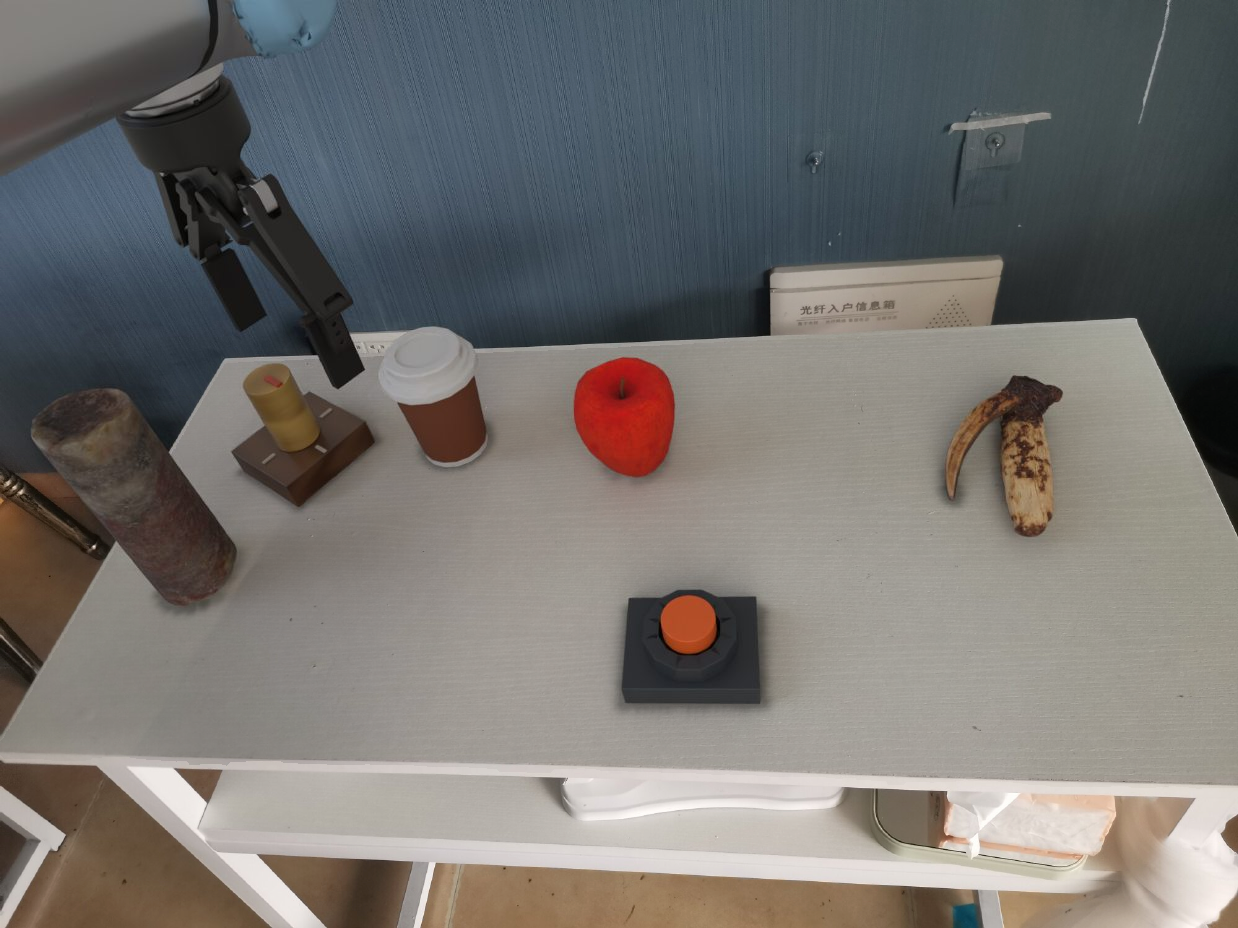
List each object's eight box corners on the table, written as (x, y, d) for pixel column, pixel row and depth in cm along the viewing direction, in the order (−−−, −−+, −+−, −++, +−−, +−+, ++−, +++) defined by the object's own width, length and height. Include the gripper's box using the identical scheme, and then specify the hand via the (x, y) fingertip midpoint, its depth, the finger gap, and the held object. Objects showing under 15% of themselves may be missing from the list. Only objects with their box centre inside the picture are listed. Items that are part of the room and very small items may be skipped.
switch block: (625, 703, 66) (618, 676, 63) (631, 612, 72) (625, 584, 69) (760, 704, 65) (759, 676, 62) (756, 611, 70) (756, 582, 67)
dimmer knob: (266, 441, 87) (231, 382, 81) (301, 414, 89) (269, 355, 83) (294, 458, 85) (260, 398, 79) (329, 429, 87) (298, 369, 81)
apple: (580, 498, 81) (559, 412, 73) (594, 430, 86) (577, 344, 79) (677, 500, 79) (666, 413, 71) (685, 430, 85) (676, 343, 77)
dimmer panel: (298, 507, 84) (285, 485, 82) (243, 471, 89) (229, 450, 86) (375, 442, 89) (365, 419, 87) (319, 411, 94) (308, 389, 91)
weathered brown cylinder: (179, 543, 83) (54, 384, 69) (253, 537, 82) (143, 376, 68) (149, 611, 78) (7, 456, 64) (228, 606, 77) (102, 447, 63)
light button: (661, 654, 64) (659, 641, 63) (663, 608, 67) (661, 595, 66) (716, 654, 64) (715, 641, 63) (716, 607, 67) (715, 594, 65)
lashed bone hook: (945, 396, 84) (942, 541, 72) (950, 357, 81) (948, 503, 69) (1052, 401, 82) (1068, 553, 70) (1062, 361, 78) (1080, 514, 66)
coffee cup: (392, 457, 87) (350, 365, 79) (453, 400, 92) (419, 308, 83) (459, 490, 83) (423, 397, 75) (520, 429, 88) (492, 334, 79)
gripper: (332, 103, 52) (432, 376, 67) (128, 38, 65) (251, 280, 80) (225, 161, 48) (356, 434, 64) (31, 80, 61) (179, 325, 76)
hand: (298, 349), depth 72 cm, fingers open, 13 cm apart
